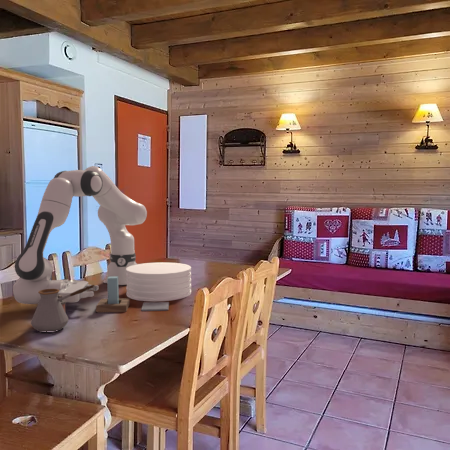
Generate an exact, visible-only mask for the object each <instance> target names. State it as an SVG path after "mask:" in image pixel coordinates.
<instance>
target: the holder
mask: <svg viewBox="0 0 450 450" xmlns="http://www.w3.org/2000/svg"><path fill="white" fill-rule="evenodd" d="M130 299H131V298H129V297H124V298H123V297H122V298H120V297H119V304H108V298H101V299H100V300H99V301H98V303H97V304H96V305H95V313H124V312H125V313H126V312H127V311H128V309H129V306H130V303H131V302H130V301H131V300H130Z"/></svg>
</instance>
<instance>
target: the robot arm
mask: <svg viewBox="0 0 450 450" xmlns="http://www.w3.org/2000/svg"><path fill="white" fill-rule="evenodd" d="M74 197H77V198H78V197H92V198H93V199H94V200H95V201H96V202H97V204H99V207H98V209H97V217H98V219H99V221H100V222H101V223H102V224H103V225H104V226H105V227H106V230H107V232H108V235H109V239H110V254H109V256H110V257H109V259H110V263H108V265H107V269H106V279H104V280H103V283H104V284H107V278H108V277H112V276H118V286H127V284H126V280H127V278H126V274H127V273H126V268H127V267H129V266H132V265H137V264H138V263H137V262H136V256H137V255H136V252H135V237H134V235H133V234H132V233H131V232H129V231H128V229H127V227H126V226H137V225H142V224H143V223H144V222H145V221H146V219H147V216H148V211H147V208H146V206H145V205H144V204H142V203H139V202H137V201H135V200H133V199H131V198H130V197H129V196H127V195H126V194H124V193H123V192H122V191H121V190H120V189H119V188H118V186H116V184H115V183H114V182H113V180H112V179H111V178H110V176H109V175H107V173H106V172H105V171H104V170H103V169H101V168H100V167H99V166H96V165H95V166H88V167H86V168H85V169H83V170H82V169H75V170H61V171H59V172H57V173H56V174H55V175H54V177H53V178H51V180H50V181H49V182H48V184H47V186H46V188H45V190H44V193H43V195H42V197H41V198H42V199H41V201H40V205H39V208H38V213H37V215H36V217H35V220H34V222H33V225H32V227H31V231H30V233H29V236H28V239H27V241H26V244H25V247H24V248H23V250H22V251H21V252H20V254H19V255H18V257H17V258H16V259H15V262H14V271H15V273H16V275H17V276H18V277H19V278H18V279H17V280H16V282H14V284H13V285H12V296H13V297H14V300H15V301H16V302H18V303H19V304H24V305H38V304H39V301H40V299H41V296H40V294H39V293H38V292H39V291H40V290H44V289H59V292H58V293H59V294H60V295H62V297H64V296H66V295H69V294H71V293H73V292H75V291H77V290H79V289H83V288H86V287H87V286H91V285H92V284H89V281H87V280H77V279H76V280H74V279H71V280H69V279H68V278H64V279H51V278H52V276H53V270H54V269H53V264H52V262H51V261H50V260H48V259H47V258H46V257H44V252H45V251H44V250H45V247H46V246H47V245H46V244H47V243H48V242H47V241H48V239H49V236H50V234H51V232H52V231H53V230H54V229H55V228H58V227H61V226H63V224H65V222H66V221H67V219H68V217H69V214H70V211H71V206H72V202H73V198H74ZM94 285H95V284H94ZM95 286H96V287H95ZM95 286H94V289H93V288H90V289H89V290H86V291H84V292H82V293H79V294H76V295H74V296H70V297H68V298H66V299H63V300H64V301H66V303H77V302H78V303H79V301H80V300H81V299H85V298H92V297H93V296H94V295H95V292H97V291H98V290H99V285H98V284H97V285H95ZM96 288H97V290H96ZM95 290H96V291H95Z"/></svg>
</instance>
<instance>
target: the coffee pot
mask: <svg viewBox="0 0 450 450" xmlns="http://www.w3.org/2000/svg"><path fill="white" fill-rule="evenodd" d="M90 285H91V286H87V287H86V288H83V289H79V290H77V291H75V292H73V293H71V294H69V295H66V296H64V297H61V298H58V292H59V289H44V290H40V291H39V292H38V293H39V294H40V296H41V299H40V301H39V304H37V306H36V309H35V311H34V313H33V316H32V318H31V321H30V324H31V326H32V328H33V329H34V330H37V332H38V331H46V332H47V331H56V330H60V329H62V328H65V326H66V325H67V324H68V322H69V316H68V315H67V313H66V310H65V311H64V309H63V306H62V304H61V302H60V301H61V300H63V299H66V298H68V297H70V296H74V295H76V294H79V293H82V292H84V291H86V290H89V289H90V288H93V289H94V286H95V284H90ZM95 287H96V286H95ZM96 290H97V288H96ZM96 290H95V291H94V292H97V291H98V290H97V291H96ZM89 291H90V290H89ZM62 330H63V329H62ZM60 331H61V330H60Z"/></svg>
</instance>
